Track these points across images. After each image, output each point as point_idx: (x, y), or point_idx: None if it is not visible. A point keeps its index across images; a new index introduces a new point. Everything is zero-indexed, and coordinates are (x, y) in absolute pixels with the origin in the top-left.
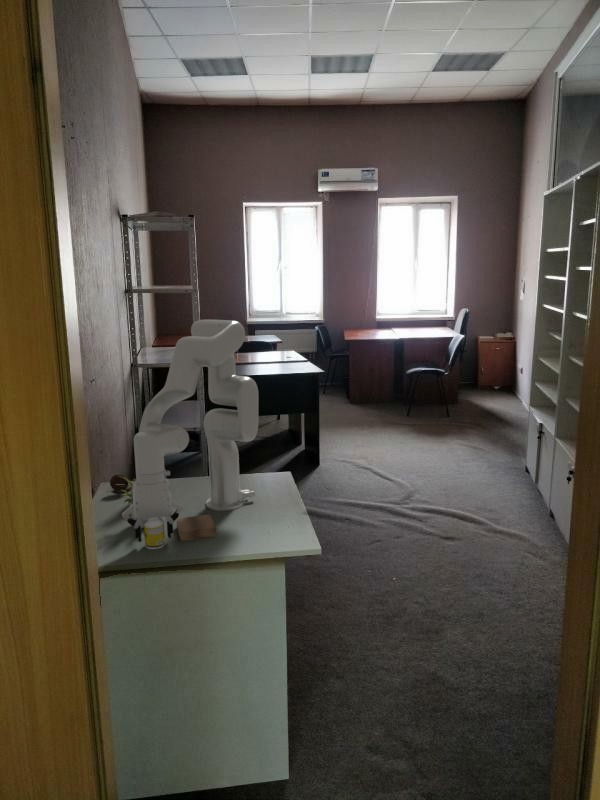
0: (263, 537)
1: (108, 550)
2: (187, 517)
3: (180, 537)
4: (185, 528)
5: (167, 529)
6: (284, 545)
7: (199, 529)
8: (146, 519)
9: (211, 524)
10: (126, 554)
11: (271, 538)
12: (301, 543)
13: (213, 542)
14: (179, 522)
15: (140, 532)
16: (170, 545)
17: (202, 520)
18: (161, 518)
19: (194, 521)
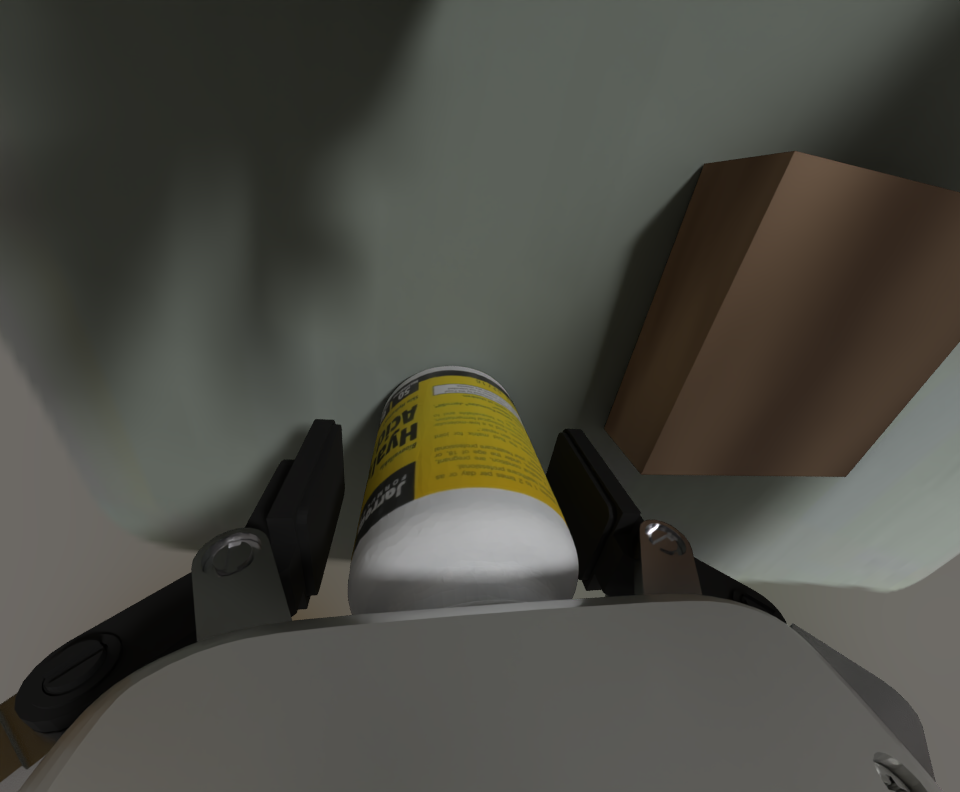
0: (901, 497)
1: (68, 377)
2: (888, 184)
3: (620, 439)
4: (703, 431)
5: (570, 487)
6: (877, 563)
7: (758, 474)
8: (386, 596)
9: (868, 429)
10: (249, 475)
11: (908, 512)
12: (920, 563)
13: (730, 481)
14: (745, 288)
15: (323, 563)
16: (535, 447)
17: (897, 334)
18: (570, 596)
19: (844, 325)
